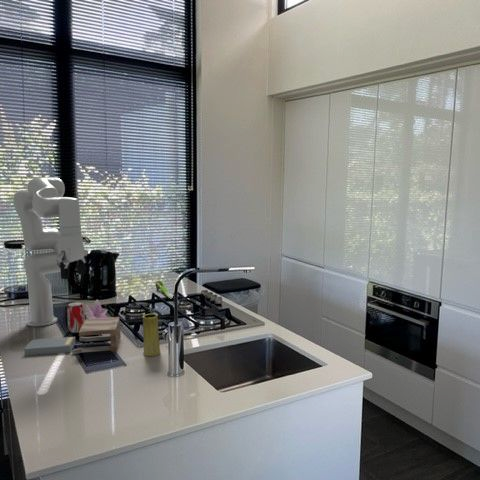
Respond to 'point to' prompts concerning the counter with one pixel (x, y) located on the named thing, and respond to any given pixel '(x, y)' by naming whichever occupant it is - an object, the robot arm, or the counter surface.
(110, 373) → the counter surface
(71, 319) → the soda can
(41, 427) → the counter surface
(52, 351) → the grey book
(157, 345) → the vase
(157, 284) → the leek
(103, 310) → the lily
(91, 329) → the shelf
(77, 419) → the counter surface
